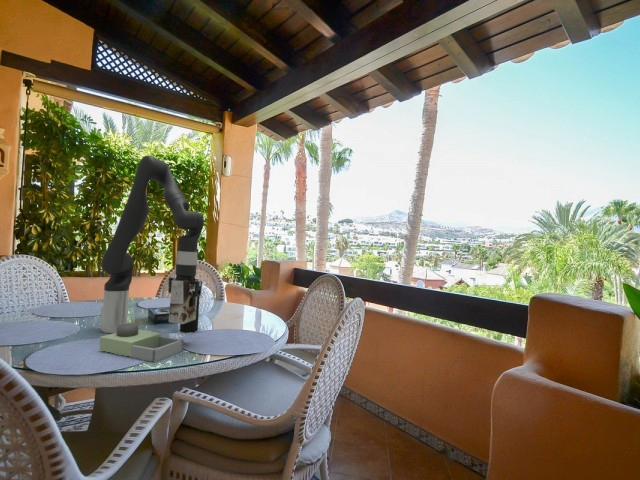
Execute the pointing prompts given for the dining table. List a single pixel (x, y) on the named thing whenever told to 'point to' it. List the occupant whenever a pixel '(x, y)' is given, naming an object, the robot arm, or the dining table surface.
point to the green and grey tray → (140, 343)
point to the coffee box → (181, 302)
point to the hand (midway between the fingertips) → (183, 305)
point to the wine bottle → (191, 322)
